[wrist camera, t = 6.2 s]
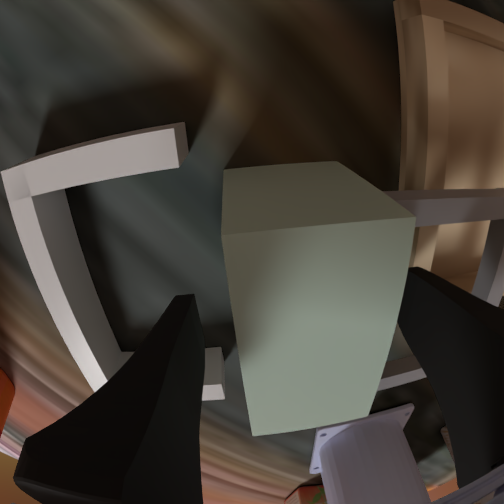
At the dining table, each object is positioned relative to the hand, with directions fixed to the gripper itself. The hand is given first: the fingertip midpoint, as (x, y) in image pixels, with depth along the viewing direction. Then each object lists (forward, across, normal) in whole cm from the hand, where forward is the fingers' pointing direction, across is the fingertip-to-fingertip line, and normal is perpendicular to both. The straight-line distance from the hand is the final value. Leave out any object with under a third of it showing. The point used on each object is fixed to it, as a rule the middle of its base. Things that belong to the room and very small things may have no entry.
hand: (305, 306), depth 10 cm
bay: (+4, +6, 0) cm, 7 cm away
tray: (+4, -13, -4) cm, 14 cm away
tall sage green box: (+4, -3, 0) cm, 5 cm away
